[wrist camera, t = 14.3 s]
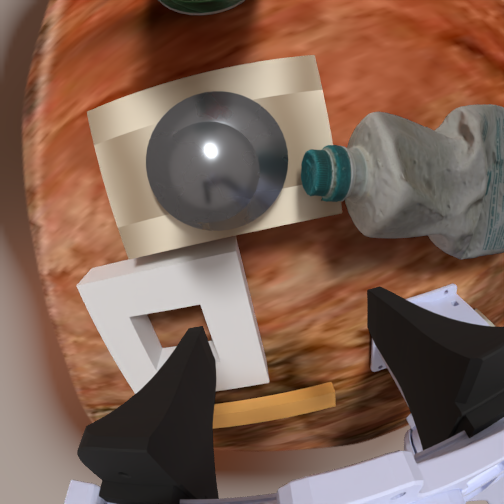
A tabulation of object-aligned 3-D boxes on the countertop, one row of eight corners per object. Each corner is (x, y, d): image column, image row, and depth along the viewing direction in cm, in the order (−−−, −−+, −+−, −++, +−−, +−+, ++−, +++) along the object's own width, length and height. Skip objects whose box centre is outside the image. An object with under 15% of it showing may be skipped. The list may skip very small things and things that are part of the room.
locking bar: (331, 381, 23) (335, 392, 22) (332, 396, 24) (335, 406, 23) (158, 409, 23) (156, 419, 22) (167, 421, 24) (165, 431, 23)
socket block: (235, 235, 22) (236, 251, 19) (266, 359, 26) (269, 382, 24) (91, 268, 22) (76, 285, 19) (144, 376, 27) (138, 398, 24)
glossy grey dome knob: (269, 91, 18) (294, 59, 10) (286, 204, 21) (319, 252, 13) (151, 113, 18) (95, 101, 10) (174, 223, 21) (138, 281, 13)
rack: (303, 65, 18) (314, 54, 15) (328, 202, 21) (342, 213, 19) (105, 113, 18) (86, 111, 15) (141, 243, 22) (129, 259, 19)
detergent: (523, 124, 19) (294, 53, 16) (575, 141, 12) (339, 28, 9) (500, 241, 25) (283, 246, 22) (543, 273, 18) (313, 308, 15)
